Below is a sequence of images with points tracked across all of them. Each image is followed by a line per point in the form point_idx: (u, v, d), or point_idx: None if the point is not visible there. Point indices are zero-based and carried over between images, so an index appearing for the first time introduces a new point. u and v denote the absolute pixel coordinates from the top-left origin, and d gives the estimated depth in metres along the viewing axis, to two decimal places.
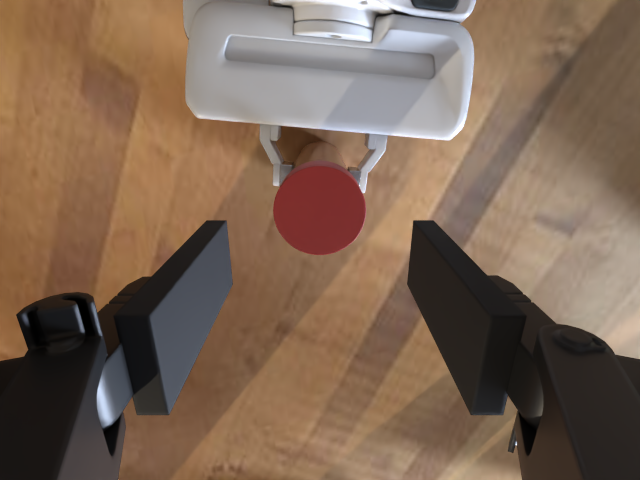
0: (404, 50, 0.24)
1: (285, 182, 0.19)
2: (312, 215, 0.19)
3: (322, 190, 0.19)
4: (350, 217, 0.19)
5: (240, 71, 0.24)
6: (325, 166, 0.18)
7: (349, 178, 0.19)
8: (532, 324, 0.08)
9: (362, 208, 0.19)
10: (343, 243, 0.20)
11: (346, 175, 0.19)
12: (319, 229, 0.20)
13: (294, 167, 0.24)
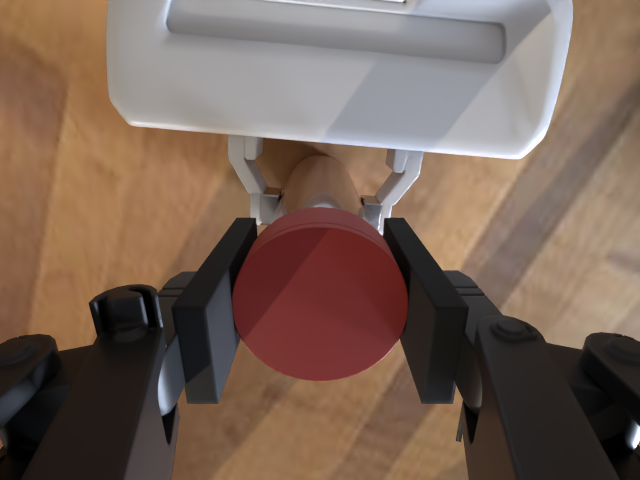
0: (458, 17, 0.15)
1: (252, 258, 0.09)
2: (306, 316, 0.10)
3: (325, 271, 0.10)
4: (378, 319, 0.10)
5: (192, 51, 0.15)
6: (331, 227, 0.09)
7: (379, 250, 0.09)
8: (479, 316, 0.08)
9: (402, 304, 0.10)
10: (364, 362, 0.11)
11: (373, 244, 0.09)
12: (320, 340, 0.10)
13: (279, 205, 0.15)
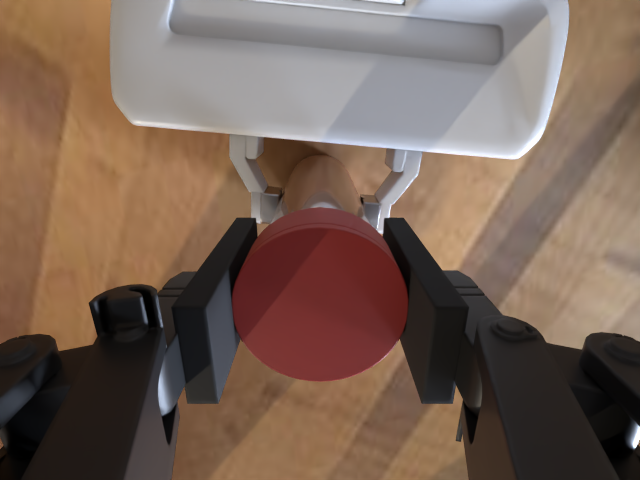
0: (456, 19, 0.15)
1: (247, 345, 0.10)
2: (320, 324, 0.10)
3: (279, 294, 0.10)
4: (350, 263, 0.09)
5: (194, 51, 0.15)
6: (238, 275, 0.10)
7: (272, 242, 0.09)
8: (479, 316, 0.08)
9: (340, 236, 0.09)
10: (397, 290, 0.10)
11: (265, 245, 0.09)
12: (352, 321, 0.10)
13: (280, 204, 0.15)
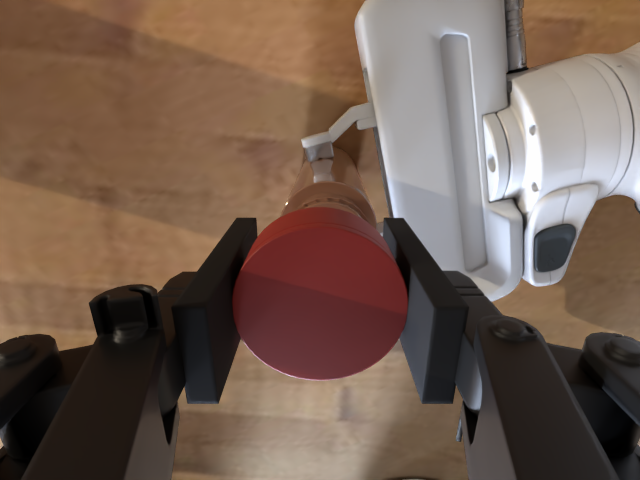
0: (487, 237, 0.23)
1: (247, 344, 0.10)
2: (320, 323, 0.10)
3: (279, 294, 0.10)
4: (350, 262, 0.10)
5: (430, 61, 0.19)
6: (239, 274, 0.10)
7: (273, 242, 0.09)
8: (479, 316, 0.08)
9: (341, 236, 0.09)
10: (397, 289, 0.10)
11: (266, 245, 0.09)
12: (352, 320, 0.10)
13: (343, 169, 0.19)
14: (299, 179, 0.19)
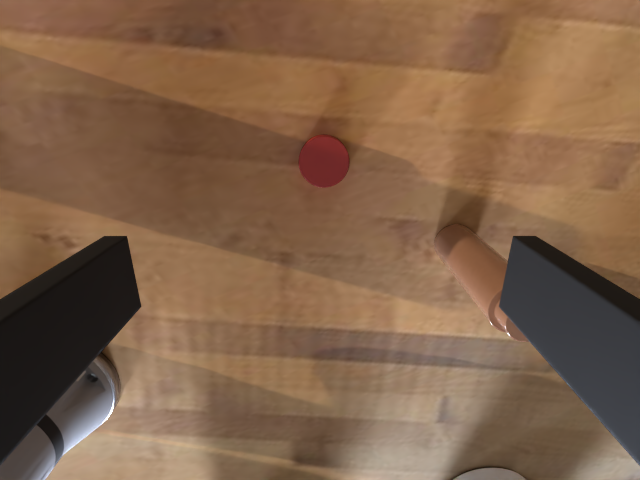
0: None
1: (302, 174, 0.36)
2: (324, 166, 0.35)
3: (312, 156, 0.35)
4: (332, 146, 0.35)
5: None
6: (301, 151, 0.35)
7: (311, 140, 0.34)
8: None
9: (329, 138, 0.34)
10: (345, 155, 0.35)
11: (309, 141, 0.34)
12: (333, 165, 0.35)
13: None
14: (481, 269, 0.30)
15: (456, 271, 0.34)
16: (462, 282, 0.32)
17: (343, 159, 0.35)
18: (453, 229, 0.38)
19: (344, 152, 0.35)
